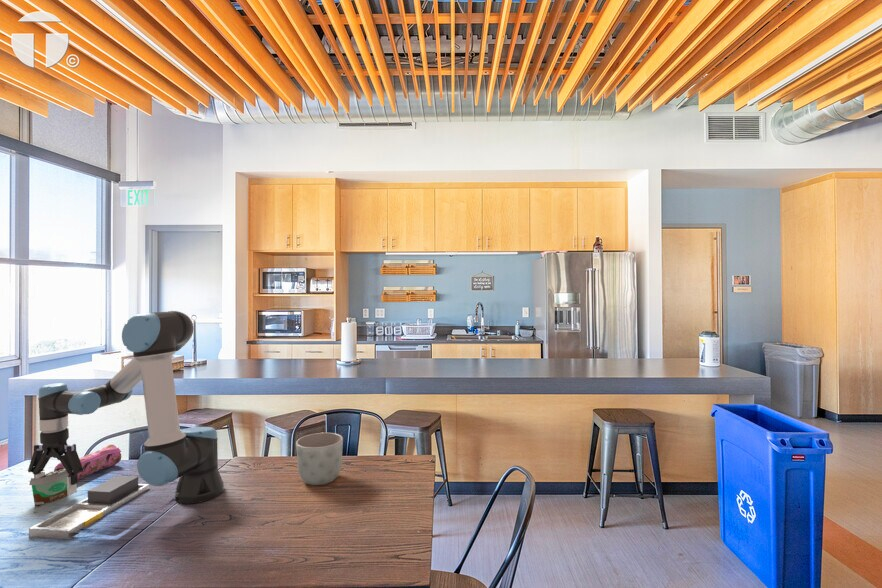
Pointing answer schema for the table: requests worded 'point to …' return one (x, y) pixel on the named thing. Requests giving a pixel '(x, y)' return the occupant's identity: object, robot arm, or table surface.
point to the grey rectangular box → (113, 490)
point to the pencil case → (97, 460)
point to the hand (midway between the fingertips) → (56, 493)
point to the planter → (319, 457)
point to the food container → (49, 487)
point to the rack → (78, 517)
